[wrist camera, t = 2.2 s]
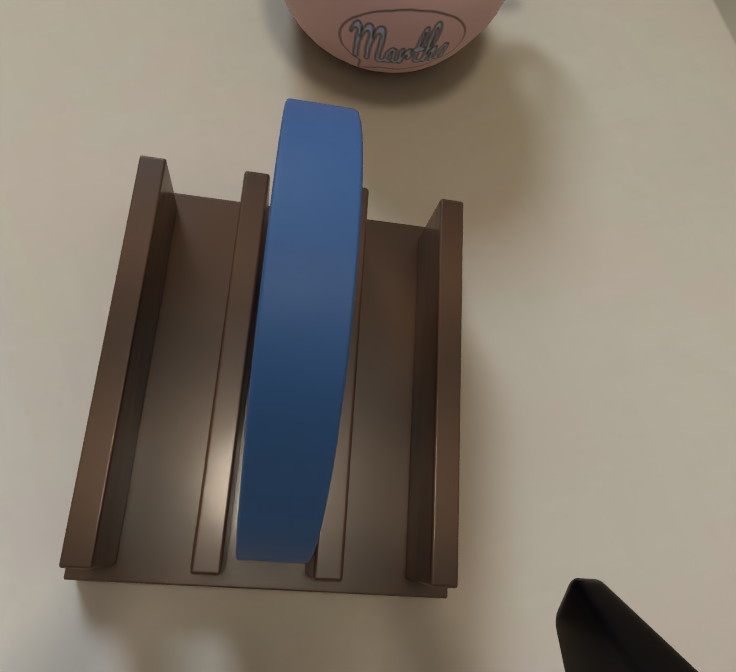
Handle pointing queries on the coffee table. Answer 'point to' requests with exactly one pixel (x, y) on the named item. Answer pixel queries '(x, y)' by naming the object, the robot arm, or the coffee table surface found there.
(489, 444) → the coffee table surface
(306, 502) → the disc
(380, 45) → the mug
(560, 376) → the coffee table surface
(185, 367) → the rack
